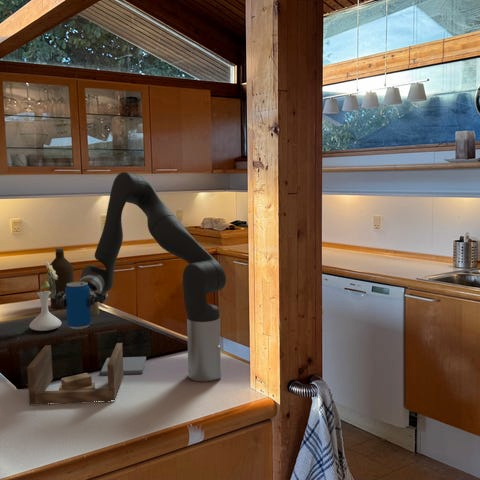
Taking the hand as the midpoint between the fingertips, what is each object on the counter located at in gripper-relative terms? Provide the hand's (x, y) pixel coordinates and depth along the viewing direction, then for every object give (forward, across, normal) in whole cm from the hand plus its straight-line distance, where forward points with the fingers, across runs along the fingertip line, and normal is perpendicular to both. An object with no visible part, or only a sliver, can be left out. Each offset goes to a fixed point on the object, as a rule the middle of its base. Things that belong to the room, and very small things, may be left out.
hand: (76, 303), depth 160 cm
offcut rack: (+2, 0, +24) cm, 24 cm away
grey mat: (-15, +10, +24) cm, 30 cm away
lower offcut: (+4, 0, +24) cm, 24 cm away
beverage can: (-2, 0, +7) cm, 8 cm away
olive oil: (-94, -26, +24) cm, 101 cm away
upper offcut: (+4, 0, +22) cm, 22 cm away
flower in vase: (-60, -24, +24) cm, 69 cm away
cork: (-80, -11, +24) cm, 84 cm away
